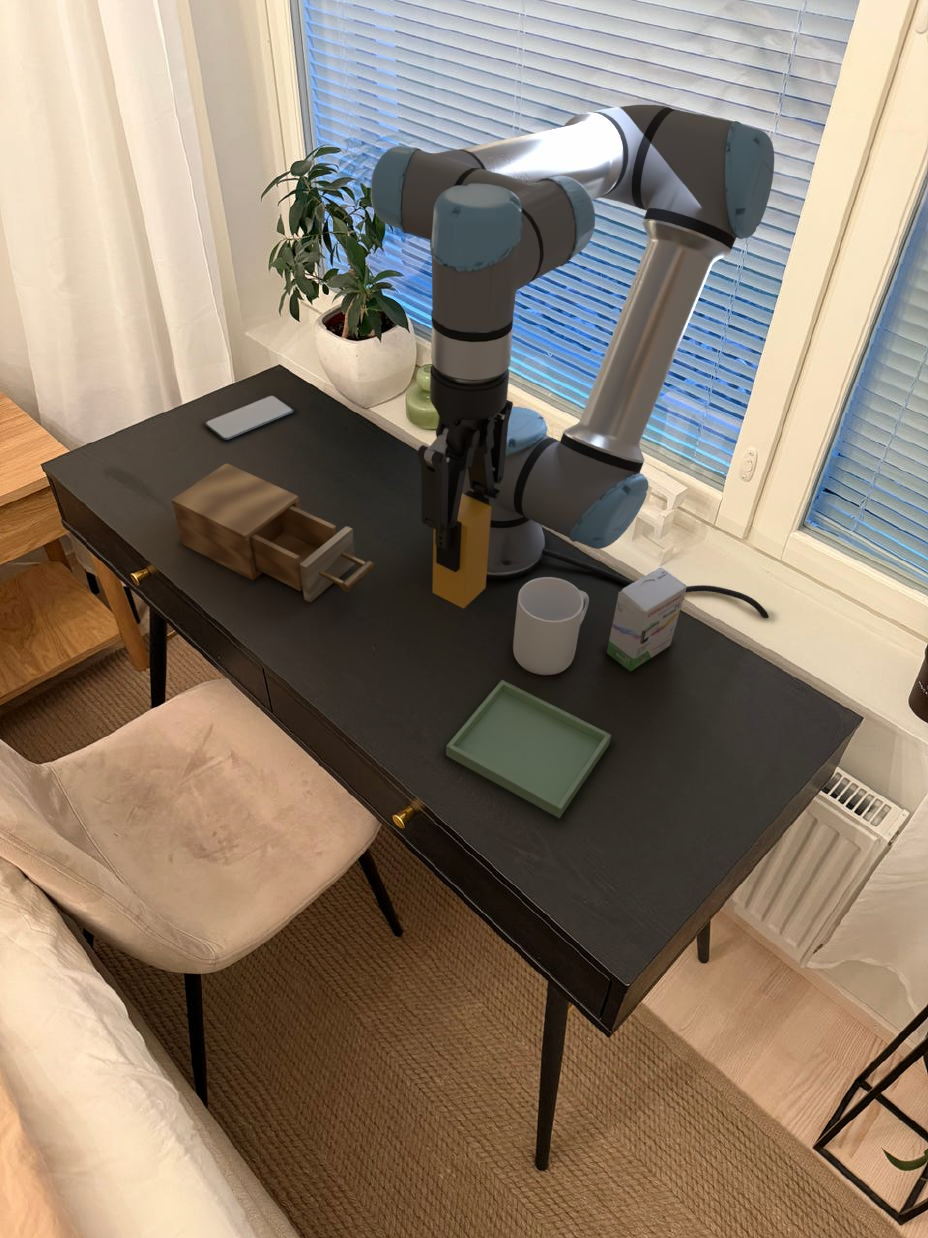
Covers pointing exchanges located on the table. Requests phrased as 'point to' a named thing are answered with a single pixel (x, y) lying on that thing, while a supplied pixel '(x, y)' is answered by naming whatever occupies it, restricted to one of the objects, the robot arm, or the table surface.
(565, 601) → the mug
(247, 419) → the smartphone
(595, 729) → the tray
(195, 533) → the cabinet
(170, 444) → the table surface
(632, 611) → the ink box
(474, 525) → the block
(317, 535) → the drawer
